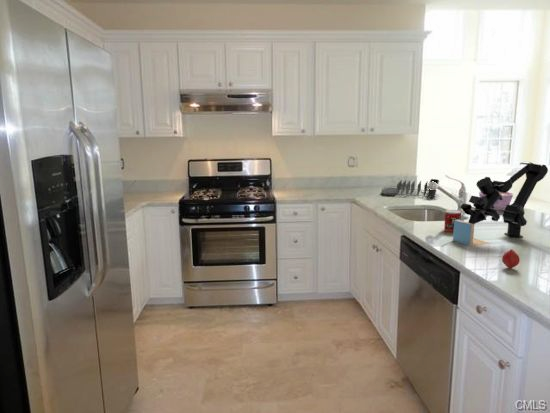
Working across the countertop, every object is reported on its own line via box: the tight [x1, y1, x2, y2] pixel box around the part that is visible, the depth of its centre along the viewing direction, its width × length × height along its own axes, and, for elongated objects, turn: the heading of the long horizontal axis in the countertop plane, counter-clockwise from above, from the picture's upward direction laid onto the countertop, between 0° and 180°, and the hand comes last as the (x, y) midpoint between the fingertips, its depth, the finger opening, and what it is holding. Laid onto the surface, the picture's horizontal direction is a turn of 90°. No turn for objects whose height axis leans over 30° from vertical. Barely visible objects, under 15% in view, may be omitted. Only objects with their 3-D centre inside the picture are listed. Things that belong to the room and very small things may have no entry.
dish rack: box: [380, 178, 440, 199], centre depth 326 cm, size 34×44×12 cm
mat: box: [451, 237, 490, 247], centre depth 189 cm, size 12×12×1 cm
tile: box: [452, 220, 475, 246], centre depth 186 cm, size 2×10×10 cm, turn 20°
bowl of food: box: [478, 190, 514, 212], centre depth 260 cm, size 20×20×12 cm
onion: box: [501, 248, 520, 269], centre depth 152 cm, size 6×6×8 cm
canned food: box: [443, 209, 462, 233], centre depth 208 cm, size 8×8×11 cm
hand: (468, 225), depth 186 cm, fingers closed
